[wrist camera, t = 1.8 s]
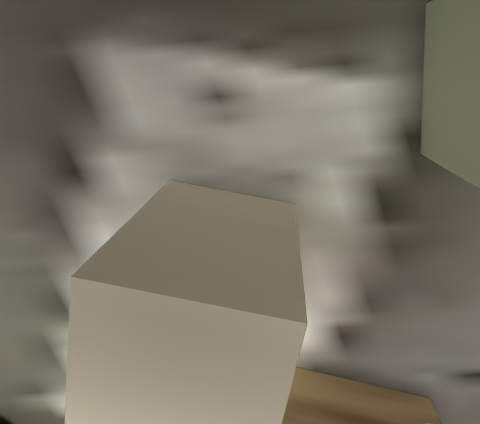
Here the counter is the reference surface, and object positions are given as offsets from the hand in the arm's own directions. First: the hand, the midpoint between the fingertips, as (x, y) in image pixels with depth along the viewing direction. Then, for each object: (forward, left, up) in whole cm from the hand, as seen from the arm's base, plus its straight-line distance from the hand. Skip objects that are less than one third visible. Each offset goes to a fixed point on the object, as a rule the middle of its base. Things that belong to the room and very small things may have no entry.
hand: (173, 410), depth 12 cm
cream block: (0, 0, -10) cm, 10 cm away
